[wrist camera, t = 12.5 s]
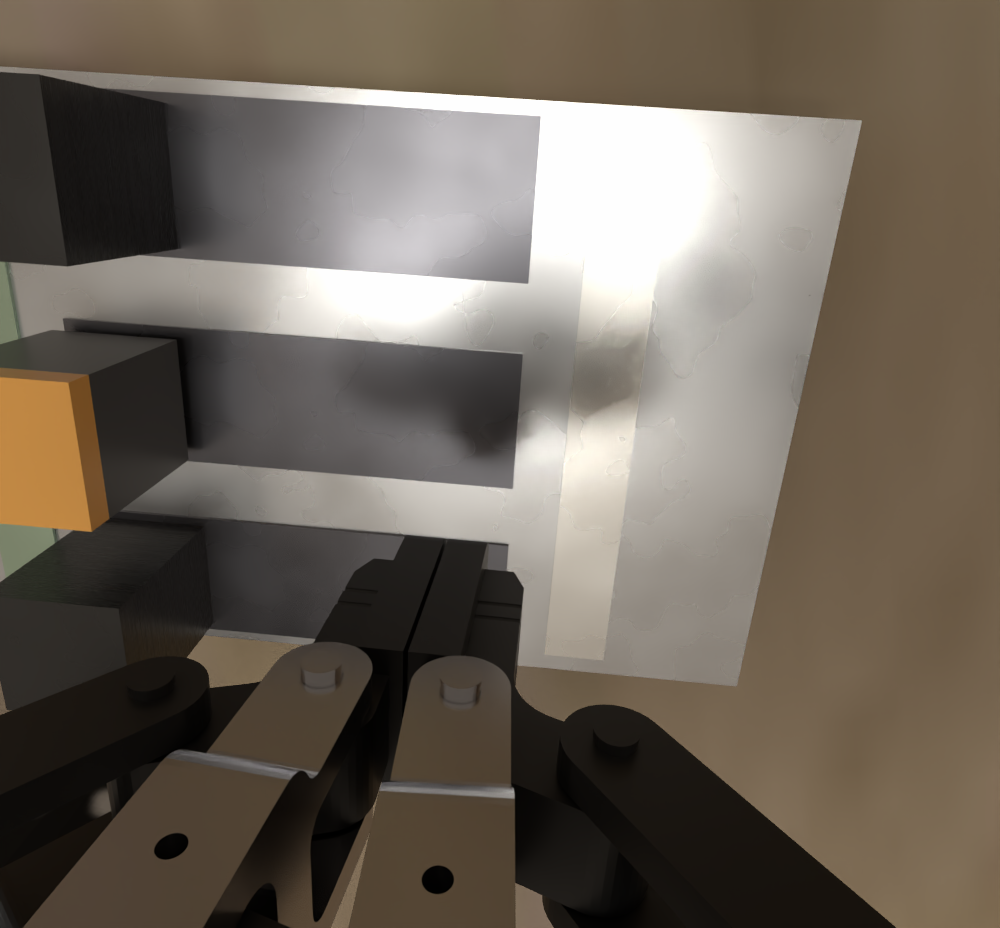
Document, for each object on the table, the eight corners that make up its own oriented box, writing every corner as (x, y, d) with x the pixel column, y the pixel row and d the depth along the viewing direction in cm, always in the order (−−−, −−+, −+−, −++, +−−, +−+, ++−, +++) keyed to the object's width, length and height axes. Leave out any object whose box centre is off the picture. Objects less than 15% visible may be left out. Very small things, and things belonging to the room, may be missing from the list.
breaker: (176, 339, 17) (68, 382, 13) (188, 460, 18) (91, 532, 14) (51, 329, 17) (-92, 369, 13) (71, 450, 18) (-56, 518, 14)
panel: (827, 128, 16) (971, 95, 11) (720, 643, 21) (780, 806, 16) (-176, 64, 17) (-528, 4, 12) (-53, 570, 22) (-258, 699, 17)
